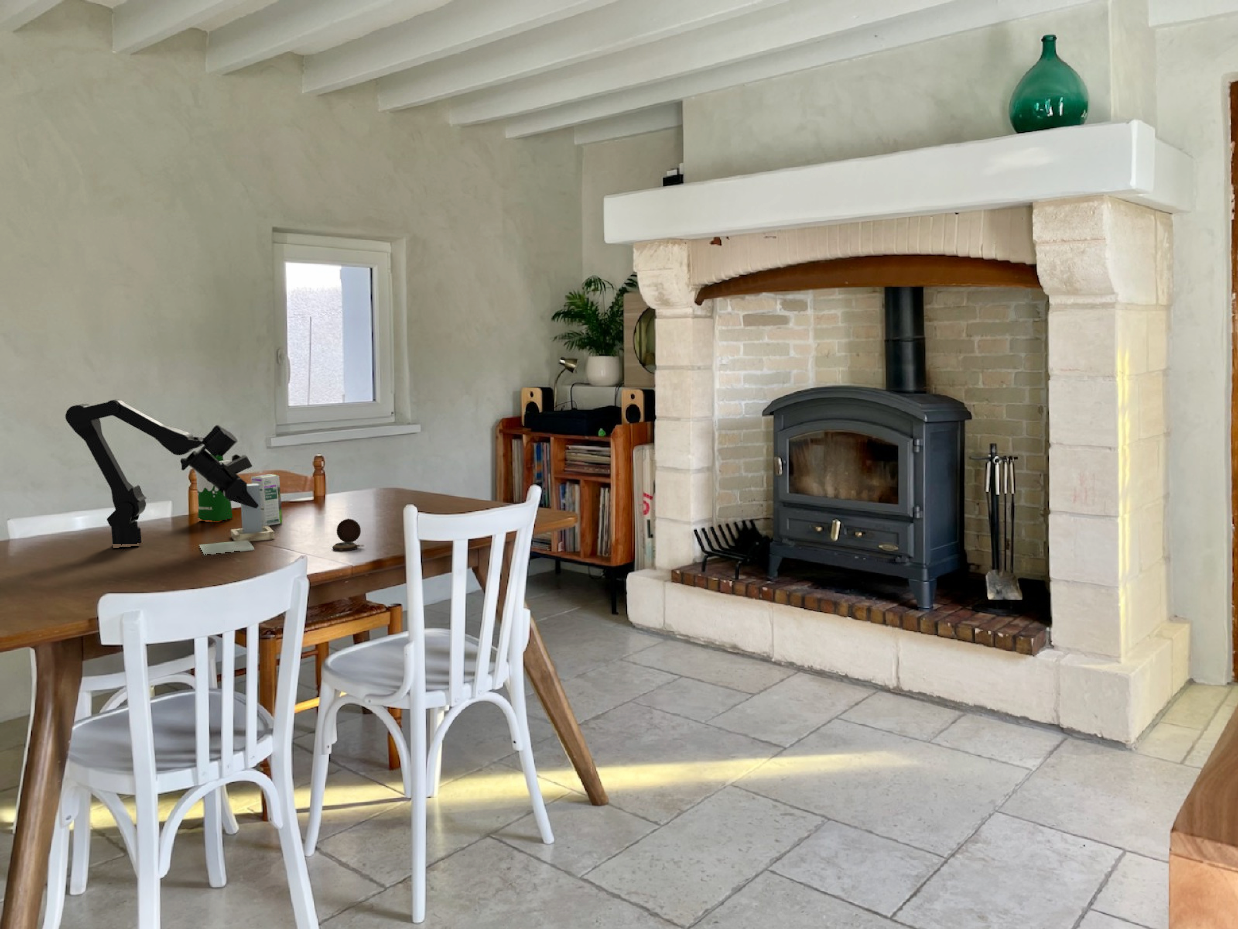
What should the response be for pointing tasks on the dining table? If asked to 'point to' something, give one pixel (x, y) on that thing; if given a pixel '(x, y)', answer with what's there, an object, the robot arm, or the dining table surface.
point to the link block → (252, 511)
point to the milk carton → (212, 499)
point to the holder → (252, 534)
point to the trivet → (226, 547)
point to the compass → (347, 535)
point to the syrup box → (269, 499)
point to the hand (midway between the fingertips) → (256, 505)
